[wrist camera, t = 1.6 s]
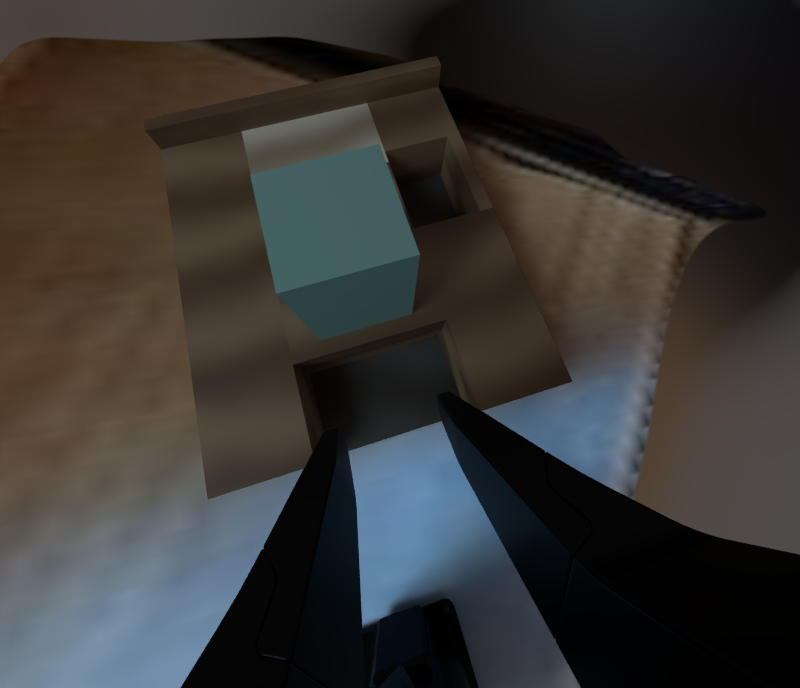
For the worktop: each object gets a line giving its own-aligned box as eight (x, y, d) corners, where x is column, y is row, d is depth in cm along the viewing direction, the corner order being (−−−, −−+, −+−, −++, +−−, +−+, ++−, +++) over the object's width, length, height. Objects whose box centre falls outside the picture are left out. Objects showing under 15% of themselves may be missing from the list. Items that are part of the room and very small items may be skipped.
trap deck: (541, 388, 22) (587, 377, 16) (244, 484, 20) (189, 507, 15) (429, 125, 28) (436, 56, 23) (195, 180, 26) (143, 119, 21)
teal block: (411, 313, 19) (419, 254, 12) (320, 340, 18) (276, 293, 12) (385, 235, 20) (379, 143, 14) (300, 258, 20) (250, 174, 13)
